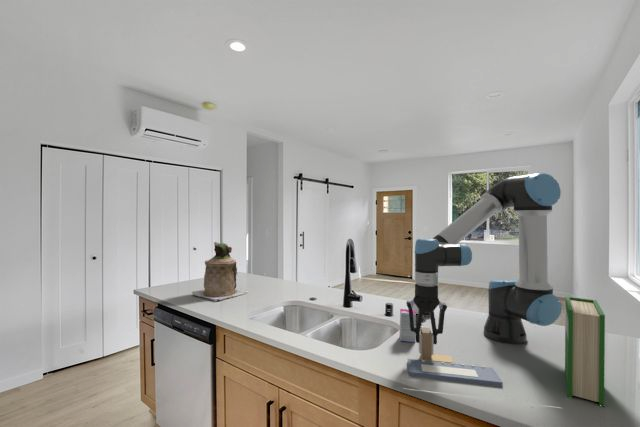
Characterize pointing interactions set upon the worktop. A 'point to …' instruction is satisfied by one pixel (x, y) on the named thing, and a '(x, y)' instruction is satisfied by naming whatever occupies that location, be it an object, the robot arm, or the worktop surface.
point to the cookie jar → (220, 276)
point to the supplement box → (406, 326)
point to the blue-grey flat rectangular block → (454, 372)
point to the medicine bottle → (418, 309)
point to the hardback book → (584, 349)
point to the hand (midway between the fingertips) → (425, 352)
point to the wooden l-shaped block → (427, 348)
